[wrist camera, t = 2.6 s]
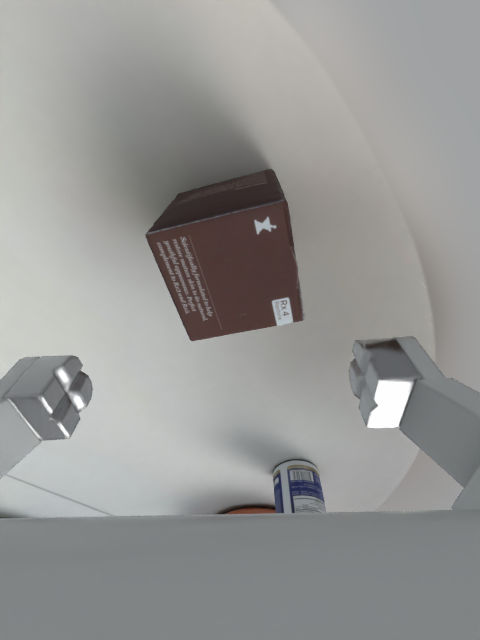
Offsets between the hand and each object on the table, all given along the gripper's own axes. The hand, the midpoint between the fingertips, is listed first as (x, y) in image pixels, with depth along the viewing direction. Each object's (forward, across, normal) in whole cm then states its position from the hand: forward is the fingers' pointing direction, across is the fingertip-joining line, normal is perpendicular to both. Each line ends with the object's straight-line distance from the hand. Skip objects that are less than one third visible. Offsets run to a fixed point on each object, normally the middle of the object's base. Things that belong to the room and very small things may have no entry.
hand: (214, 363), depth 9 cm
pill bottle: (+13, -5, +30) cm, 33 cm away
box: (+13, 0, 0) cm, 13 cm away
